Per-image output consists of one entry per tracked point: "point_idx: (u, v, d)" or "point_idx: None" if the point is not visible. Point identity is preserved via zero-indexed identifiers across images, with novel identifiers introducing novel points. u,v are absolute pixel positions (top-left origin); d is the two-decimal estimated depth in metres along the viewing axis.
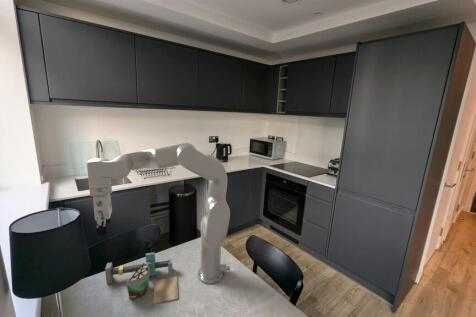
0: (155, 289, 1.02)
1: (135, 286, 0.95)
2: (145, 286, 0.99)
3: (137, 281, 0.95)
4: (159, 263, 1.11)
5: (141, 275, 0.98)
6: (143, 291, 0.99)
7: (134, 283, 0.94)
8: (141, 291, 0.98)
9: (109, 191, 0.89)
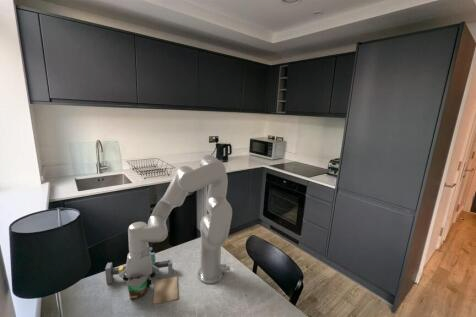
0: (155, 289, 1.02)
1: (136, 286, 0.95)
2: (146, 286, 0.99)
3: (138, 281, 0.95)
4: (159, 263, 1.11)
5: None
6: (144, 291, 0.99)
7: (135, 283, 0.94)
8: (142, 291, 0.98)
9: None
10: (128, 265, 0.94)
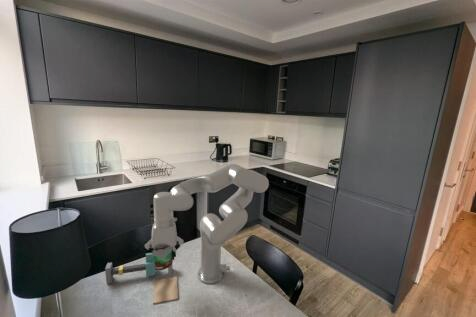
0: (155, 289, 1.02)
1: (162, 257, 0.94)
2: (171, 257, 0.98)
3: (164, 251, 0.94)
4: None
5: None
6: (169, 262, 0.98)
7: (161, 253, 0.93)
8: (167, 262, 0.96)
9: None
10: (154, 235, 0.93)
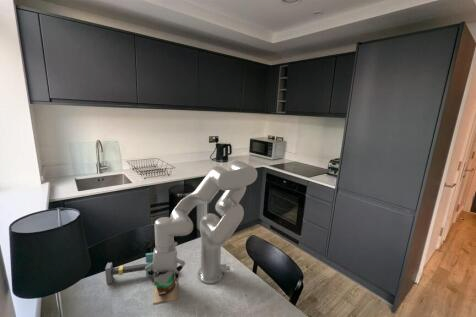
0: (155, 289, 1.02)
1: (163, 282, 0.97)
2: (172, 281, 1.01)
3: (164, 276, 0.97)
4: None
5: None
6: (171, 286, 1.00)
7: (162, 278, 0.96)
8: (169, 286, 0.99)
9: None
10: (155, 260, 0.96)
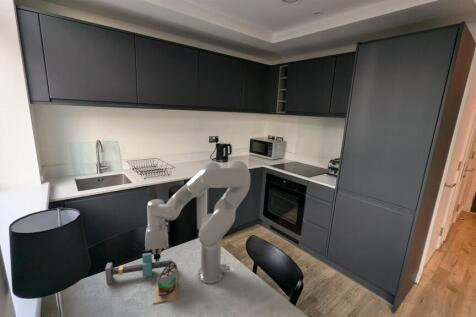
0: (155, 289, 1.02)
1: (166, 283, 0.97)
2: (174, 283, 1.01)
3: (168, 278, 0.97)
4: (159, 263, 1.11)
5: (170, 272, 1.00)
6: (172, 288, 1.00)
7: (165, 280, 0.96)
8: (170, 287, 0.99)
9: None
10: (147, 238, 1.05)
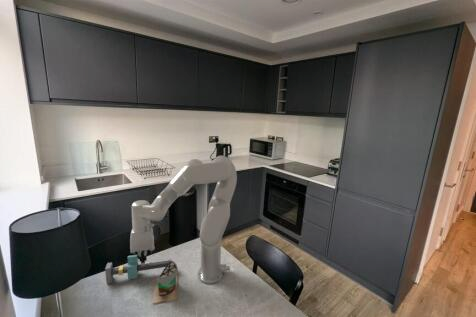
0: (155, 289, 1.02)
1: (166, 283, 0.97)
2: (174, 283, 1.01)
3: (168, 278, 0.97)
4: (159, 263, 1.11)
5: (170, 272, 1.00)
6: (172, 288, 1.00)
7: (165, 280, 0.96)
8: (170, 287, 0.99)
9: None
10: (132, 239, 1.03)
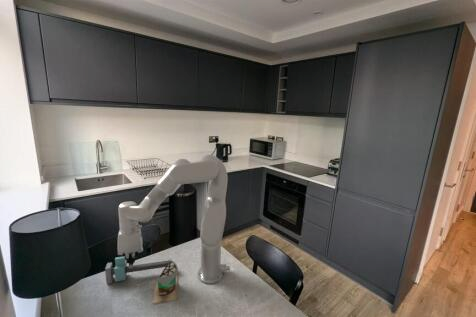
0: (155, 289, 1.02)
1: (166, 283, 0.97)
2: (174, 283, 1.01)
3: (168, 278, 0.97)
4: (159, 263, 1.11)
5: (170, 272, 1.00)
6: (172, 288, 1.00)
7: (165, 280, 0.96)
8: (170, 287, 0.99)
9: None
10: (119, 241, 1.01)
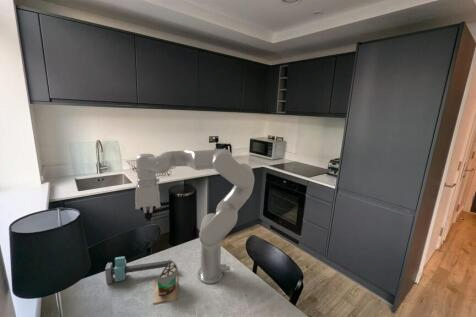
0: (155, 289, 1.02)
1: (166, 283, 0.97)
2: (174, 283, 1.01)
3: (168, 278, 0.97)
4: (159, 263, 1.11)
5: (170, 272, 1.00)
6: (172, 288, 1.00)
7: (165, 280, 0.96)
8: (170, 287, 0.99)
9: None
10: (137, 194, 0.99)
